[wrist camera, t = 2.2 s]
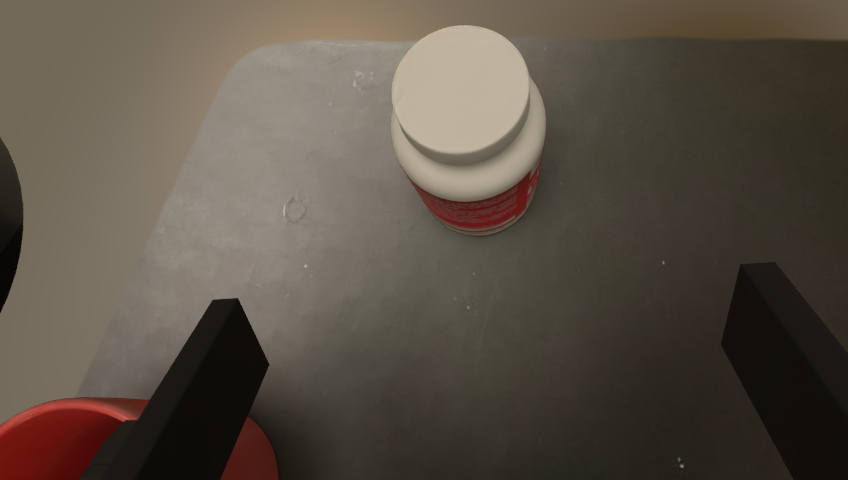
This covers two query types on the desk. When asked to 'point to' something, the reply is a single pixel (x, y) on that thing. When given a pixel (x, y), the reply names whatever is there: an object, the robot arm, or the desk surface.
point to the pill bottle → (468, 128)
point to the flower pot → (101, 440)
